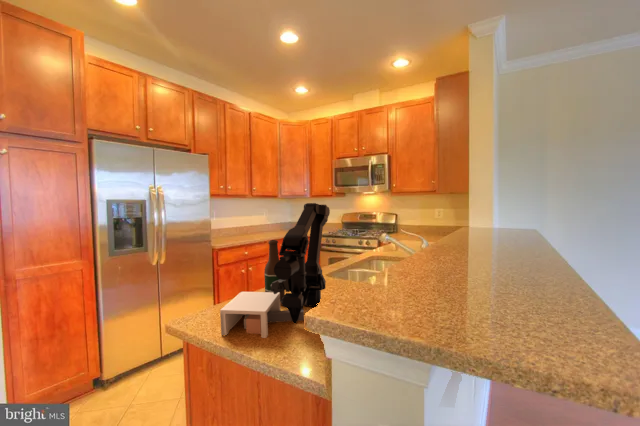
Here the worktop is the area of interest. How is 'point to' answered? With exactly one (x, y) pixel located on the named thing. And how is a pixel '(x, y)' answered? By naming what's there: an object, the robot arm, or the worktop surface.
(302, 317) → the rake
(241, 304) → the cubby
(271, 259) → the beer bottle
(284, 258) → the robot arm
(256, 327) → the cube
